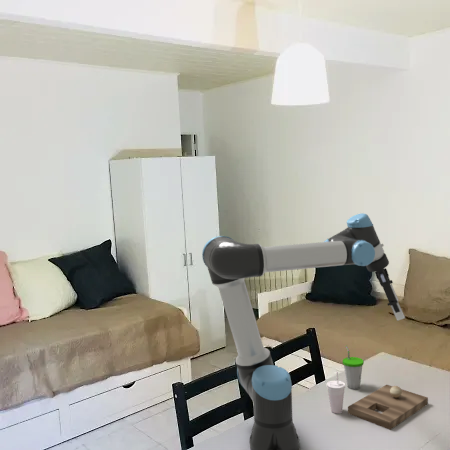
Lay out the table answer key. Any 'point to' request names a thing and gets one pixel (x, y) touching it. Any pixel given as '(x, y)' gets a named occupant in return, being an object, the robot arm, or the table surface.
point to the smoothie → (336, 394)
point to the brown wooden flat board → (387, 407)
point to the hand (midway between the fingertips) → (397, 310)
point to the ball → (396, 391)
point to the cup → (353, 371)
